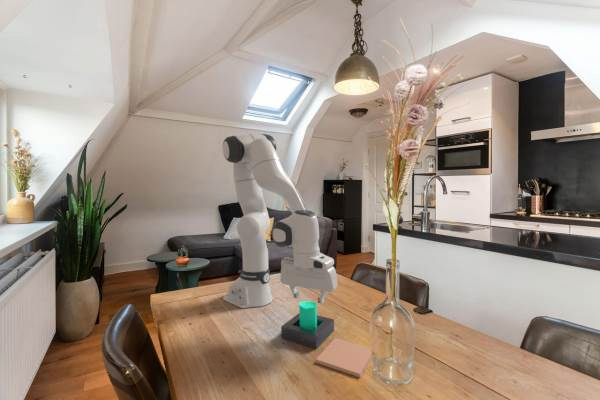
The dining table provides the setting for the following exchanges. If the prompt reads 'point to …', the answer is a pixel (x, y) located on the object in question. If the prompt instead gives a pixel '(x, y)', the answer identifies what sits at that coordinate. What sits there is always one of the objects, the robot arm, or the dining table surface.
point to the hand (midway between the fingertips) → (308, 300)
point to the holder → (307, 331)
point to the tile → (345, 357)
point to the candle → (308, 315)
